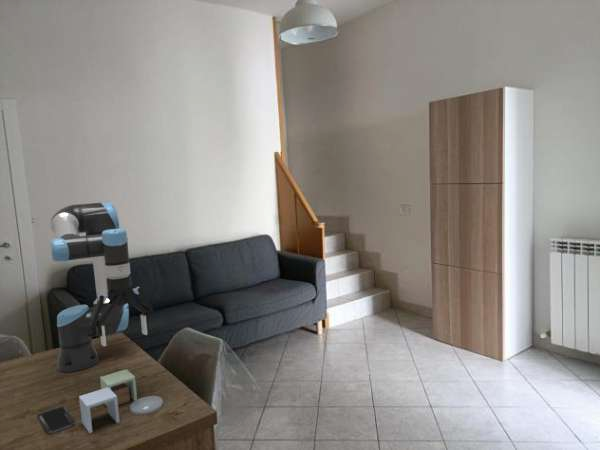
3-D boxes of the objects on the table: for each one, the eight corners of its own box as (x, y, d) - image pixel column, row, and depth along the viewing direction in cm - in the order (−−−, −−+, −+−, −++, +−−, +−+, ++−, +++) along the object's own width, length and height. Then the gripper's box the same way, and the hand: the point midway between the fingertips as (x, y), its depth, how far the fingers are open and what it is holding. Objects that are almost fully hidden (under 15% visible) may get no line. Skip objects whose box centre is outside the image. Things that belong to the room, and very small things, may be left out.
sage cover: (102, 400, 155) (100, 377, 154) (128, 392, 161) (126, 369, 160) (110, 410, 149) (108, 385, 148) (137, 400, 154) (134, 376, 153)
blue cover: (81, 422, 142) (78, 396, 141) (110, 412, 147) (108, 387, 146) (89, 433, 135) (86, 406, 134) (119, 422, 141) (116, 396, 140)
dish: (126, 406, 150) (125, 403, 150) (155, 396, 156) (155, 393, 156) (137, 418, 142) (136, 414, 142) (168, 406, 148) (167, 403, 148)
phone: (47, 433, 135) (36, 414, 147) (47, 436, 135) (37, 417, 147) (76, 422, 140) (64, 405, 152) (76, 426, 140) (64, 408, 152)
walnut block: (109, 401, 155) (108, 386, 154) (125, 395, 158) (123, 381, 158) (114, 406, 151) (113, 391, 151) (130, 400, 154) (128, 386, 154)
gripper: (81, 285, 140) (88, 353, 143) (159, 271, 156) (165, 332, 159) (74, 282, 146) (81, 347, 148) (150, 268, 162) (156, 327, 164)
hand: (124, 339), depth 153 cm, fingers open, 13 cm apart
